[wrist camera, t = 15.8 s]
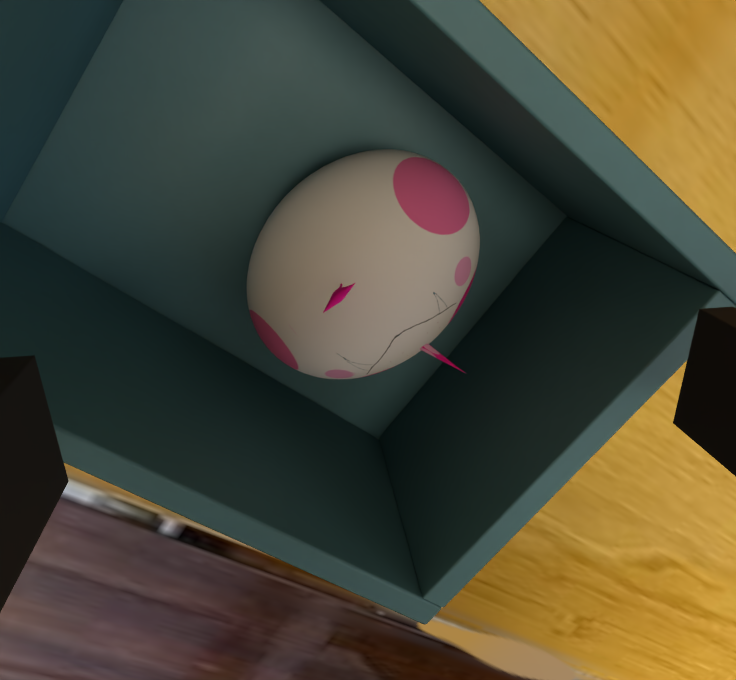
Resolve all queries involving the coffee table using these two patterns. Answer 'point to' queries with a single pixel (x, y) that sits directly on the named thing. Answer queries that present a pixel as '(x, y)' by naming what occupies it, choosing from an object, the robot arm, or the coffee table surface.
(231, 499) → the teal open box
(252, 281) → the stress ball
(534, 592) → the coffee table surface
